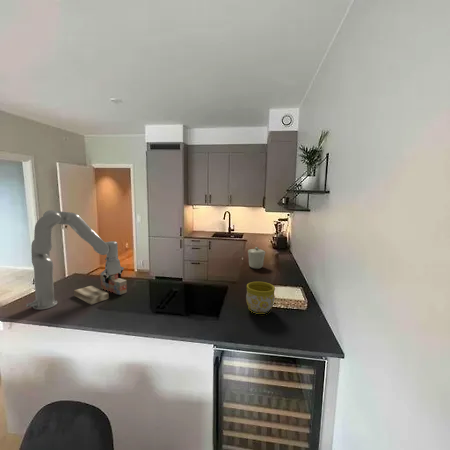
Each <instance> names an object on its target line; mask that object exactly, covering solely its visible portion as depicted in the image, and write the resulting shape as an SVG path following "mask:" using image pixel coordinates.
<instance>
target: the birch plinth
mask: <svg viewBox="0 0 450 450" xmlns="http://www.w3.org/2000/svg"><path fill="white" fill-rule="evenodd" d="M109 293H110V292H108V291H106V290H103V289H101V288H98V287H96V286H94V285H88V286H86V287H85V286H84V287H81V288H78V289H74V290H73V295H74V297H76V298H77V299H80V300H81V301H83V302H85V303H87V304H89V305H90V306H91V305H94V304H97V303H100V302H103V301H106V300H108V299H109V298H110V296H109Z"/></svg>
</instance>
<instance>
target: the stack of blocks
mask: <svg viewBox="0 0 450 450" xmlns="http://www.w3.org/2000/svg"><path fill="white" fill-rule="evenodd" d="M101 273H102V272H100V273H99V275H100V290H103V289H104V290H103V291H106V290H107V291H106V292H109V291H110V292H109V293H112V292H113V294H116V295H119V296H120V295H121V296H122V295H124V294H126V293H127V292H128V291H127V289H128V286H127V284H128V281H127V279H124V278H118V273H117V274H113V275H109V276H108V278H109V283H106V282H105V278H104V277H103V276H102V274H101ZM104 275H105V273H104Z"/></svg>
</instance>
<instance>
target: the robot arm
mask: <svg viewBox="0 0 450 450" xmlns="http://www.w3.org/2000/svg"><path fill="white" fill-rule="evenodd" d="M56 225H66V226H67V225H68V226H69V227H70V228H71V229H72V230H73V231H74V232H75V233H76V234H77V235H78V237H80V238H81V239H82V240H83V241H85V242H86V243H88V244H89V245H90V246H91V247H92V248H93V251H94V252H96V253H97V254H98V255H101V256H106V258H104V260H105V264H104V265H105V266H104V267H105V268H104V270H103V271H102V272H100V273H101V274H102V276H103V277H104V278H105V282H106V283H109V278H108V276H109V275H113V274H118V278H121V277H122V273H123V271H124V270H125V267H123V266H121V262H120V259H119V251H118V249H119V247H118V245H119V244H118V242H117V241H115V240H113V241H111V240H110V241H104V240H103V239H102V238H101V237H100V236H99V235H98V234H97V233H96V232H95V231H94V230H93V229H92V227H91V226H89V224H88V223H87V222H86V221H85V220H84V219H83V218H82V217H81V216H80V215H79V214H77V213H75V212H70V211H61V210H60V211H59V210H53V209H49V210H46V211H44V213H43V214H42V216H41V217H40V218H39V219H37V221H36V223H35V225H34V231H33V232H34V233H33V234H34V236H33V240H32V242H31V245H30V246H31V247H30V248H31V251H30V252H31V264H32V266H33V274H34V275H33V276H34V277H33V278H34V279H33V280H34V293H35V299H33V301H32V302H28V303H26V304H25V305H26V308H28V307H29V308H32V309H34V310H36V311H37V310H42V311H43V310H47V309H51V308H53V307H55V306H57V304H58V300H57V299H55V289H54V284H55V283H54V262H53V260H52V258H51V257H50V253H51V251H52V247H53V246H52V231H53V228H54V227H55V226H56ZM104 273H105V275H104ZM121 279H122V278H121Z"/></svg>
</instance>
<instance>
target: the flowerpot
mask: <svg viewBox="0 0 450 450" xmlns="http://www.w3.org/2000/svg"><path fill="white" fill-rule="evenodd" d="M275 290H276V288H275V286H274V285H273V284H271V283H270V282H265V281H252V282H248V283H247V284H246V295H245V300H246V304H247V306H248V310H249V311H251V312H250V313H252V312H253V311H254V312H253V313H256V312H258V313H256V314H265V313H264V312H266V313H267V311H269V310H270V309H271V310H272V308H273V306H274V304H275V303H274V302H275ZM252 310H253V311H252ZM253 313H252V314H253ZM256 314H255V315H256Z"/></svg>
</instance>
